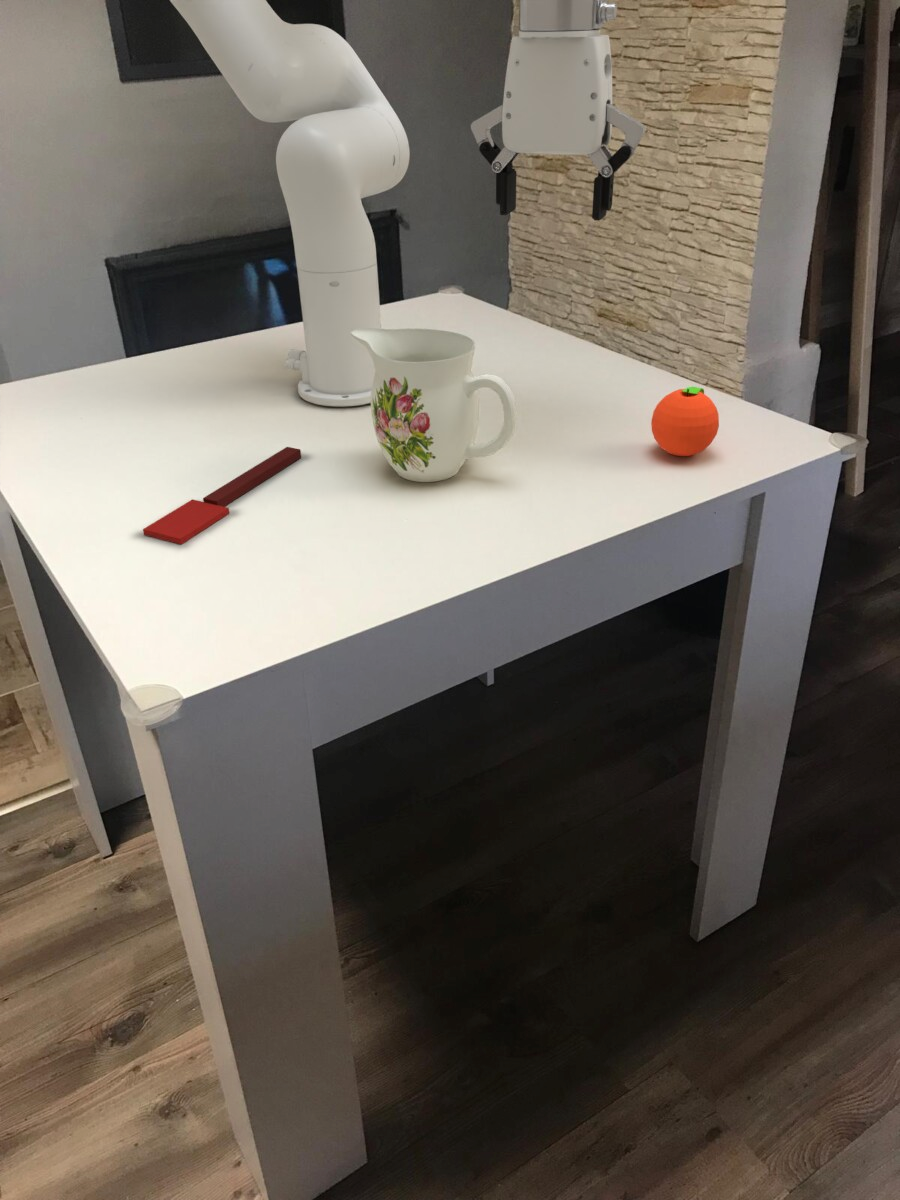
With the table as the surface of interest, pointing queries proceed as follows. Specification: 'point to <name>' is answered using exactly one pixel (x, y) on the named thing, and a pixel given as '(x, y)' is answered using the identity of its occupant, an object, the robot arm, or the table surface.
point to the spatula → (217, 501)
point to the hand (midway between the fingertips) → (552, 215)
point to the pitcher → (430, 401)
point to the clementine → (685, 422)
